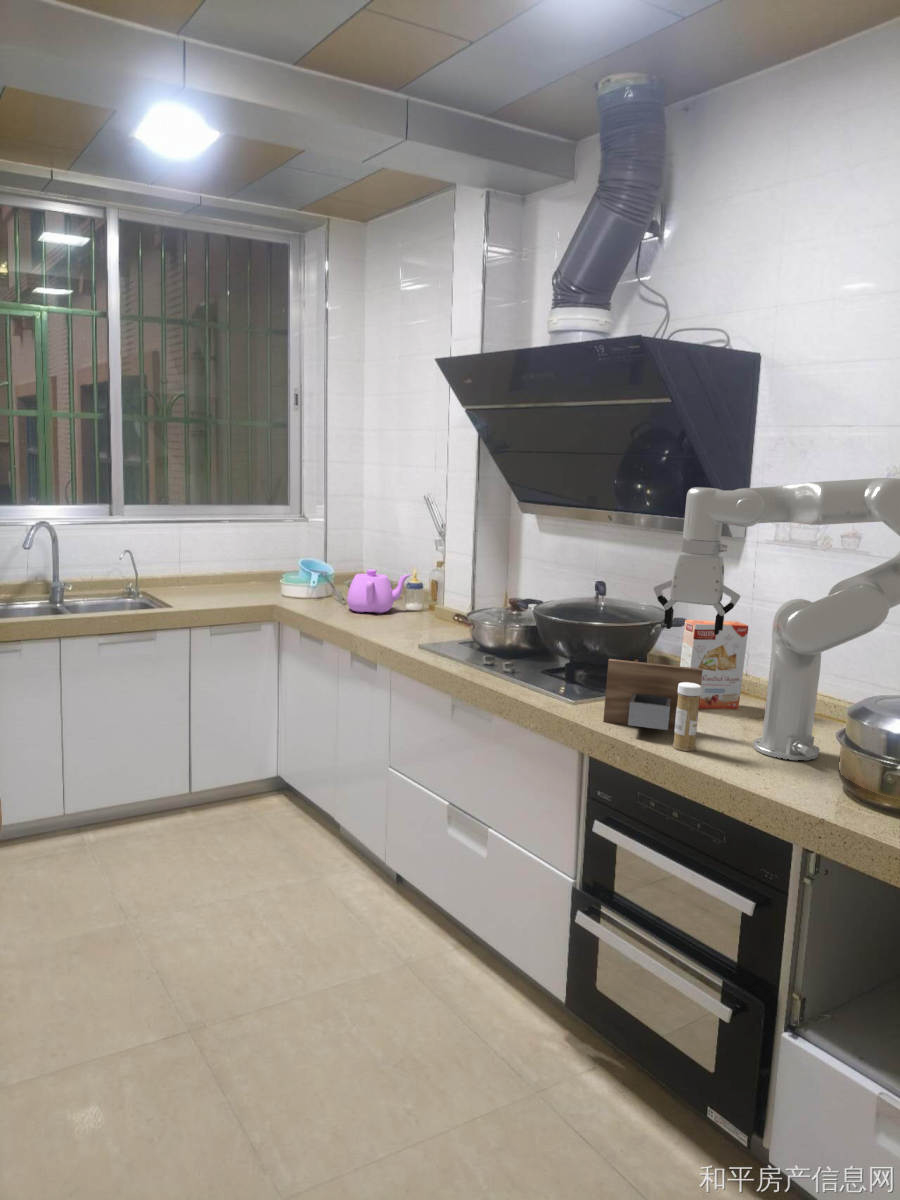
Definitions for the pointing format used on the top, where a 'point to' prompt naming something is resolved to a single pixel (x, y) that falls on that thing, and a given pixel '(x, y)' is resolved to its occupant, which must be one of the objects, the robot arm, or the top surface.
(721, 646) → the cracker box
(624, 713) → the wall holder
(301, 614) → the top surface
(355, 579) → the teapot
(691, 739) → the sprinkles bottle
